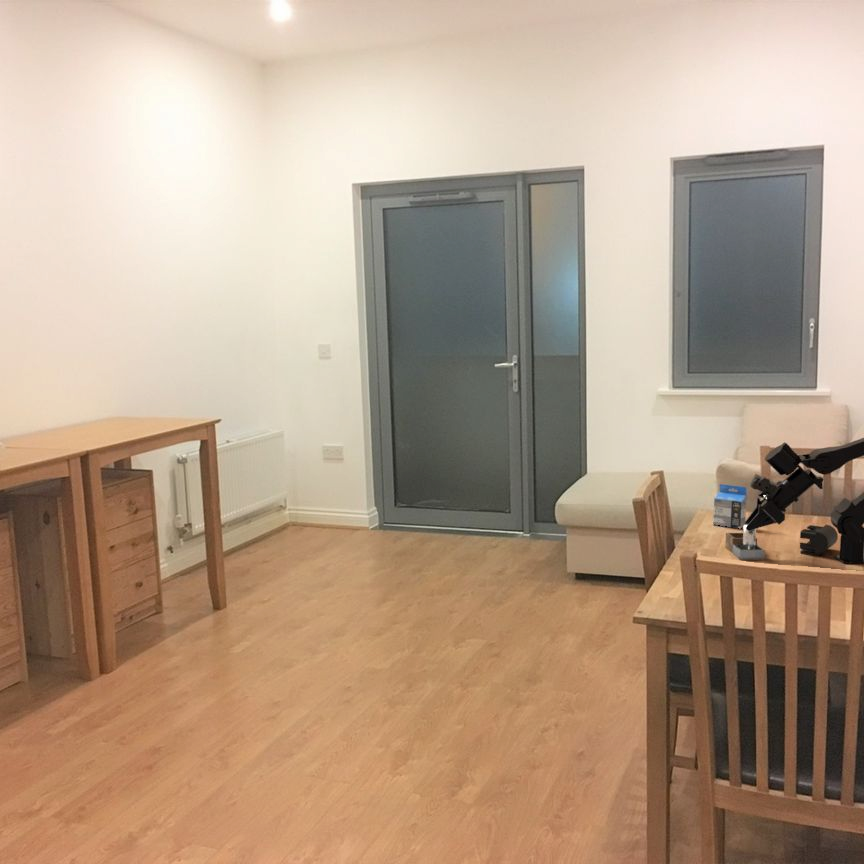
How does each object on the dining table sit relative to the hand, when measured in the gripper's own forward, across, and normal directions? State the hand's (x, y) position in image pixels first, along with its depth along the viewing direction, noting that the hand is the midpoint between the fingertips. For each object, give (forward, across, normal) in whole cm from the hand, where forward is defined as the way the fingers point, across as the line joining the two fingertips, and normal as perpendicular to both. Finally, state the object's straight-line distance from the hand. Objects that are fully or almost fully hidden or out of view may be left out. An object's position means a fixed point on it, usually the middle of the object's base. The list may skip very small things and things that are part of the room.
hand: (746, 526), depth 242 cm
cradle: (+5, 0, +6) cm, 8 cm away
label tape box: (+8, -34, +4) cm, 36 cm away
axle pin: (+5, 0, +6) cm, 8 cm away
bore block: (+6, -6, +5) cm, 10 cm away
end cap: (-8, -9, +19) cm, 23 cm away
